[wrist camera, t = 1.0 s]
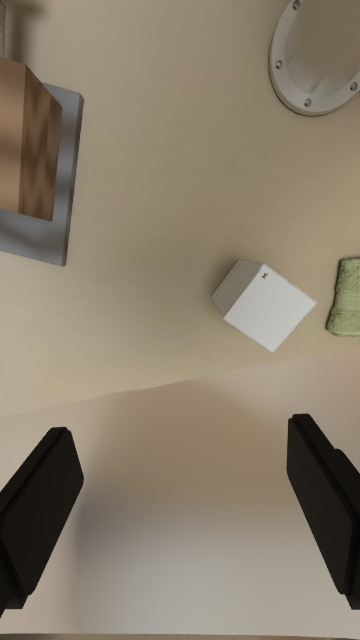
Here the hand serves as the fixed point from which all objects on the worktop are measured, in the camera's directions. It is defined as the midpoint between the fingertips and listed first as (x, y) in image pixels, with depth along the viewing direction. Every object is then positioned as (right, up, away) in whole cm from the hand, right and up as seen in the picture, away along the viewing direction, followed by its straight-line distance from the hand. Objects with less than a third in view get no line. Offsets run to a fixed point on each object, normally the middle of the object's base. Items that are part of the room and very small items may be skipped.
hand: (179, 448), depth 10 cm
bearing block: (-23, +26, +23) cm, 42 cm away
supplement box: (+10, +10, +27) cm, 30 cm away
